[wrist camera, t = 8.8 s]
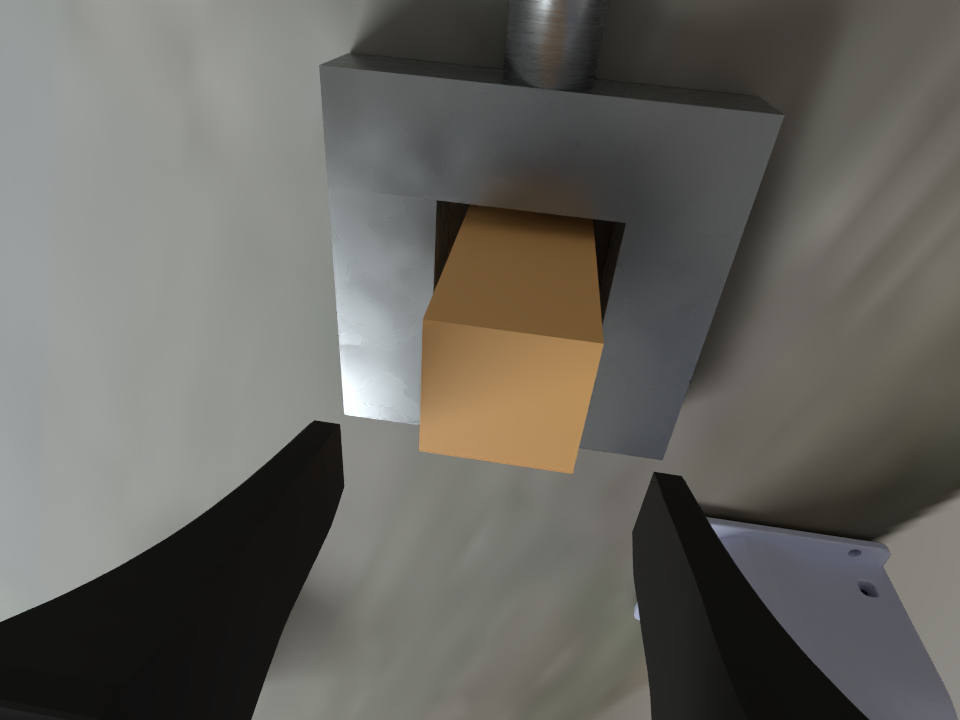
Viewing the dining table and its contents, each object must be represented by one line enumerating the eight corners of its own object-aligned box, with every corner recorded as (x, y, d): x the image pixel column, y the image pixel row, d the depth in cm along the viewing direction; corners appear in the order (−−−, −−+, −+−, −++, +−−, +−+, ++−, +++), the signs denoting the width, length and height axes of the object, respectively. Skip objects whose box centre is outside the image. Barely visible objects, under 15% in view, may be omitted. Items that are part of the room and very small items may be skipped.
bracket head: (892, -318, 12) (958, -375, 10) (654, 416, 24) (662, 459, 21) (330, -354, 13) (285, -414, 11) (363, 375, 24) (344, 414, 22)
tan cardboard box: (592, 213, 19) (603, 343, 13) (571, 317, 22) (572, 473, 15) (472, 198, 19) (422, 319, 13) (464, 303, 22) (419, 451, 15)
